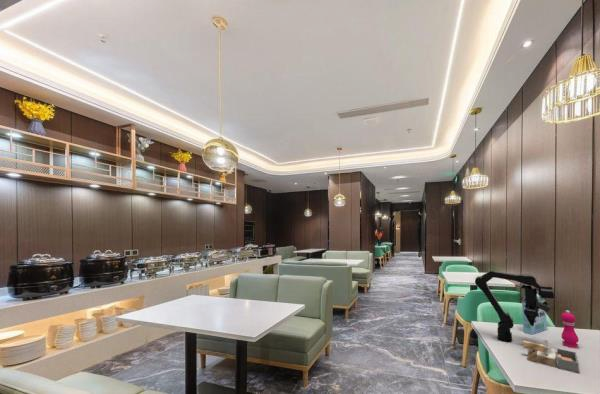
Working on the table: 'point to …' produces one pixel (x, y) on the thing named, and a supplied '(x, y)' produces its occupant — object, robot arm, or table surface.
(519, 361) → the table surface
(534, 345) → the scraper
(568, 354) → the box
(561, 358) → the tile
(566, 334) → the pepper mill
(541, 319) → the gum box
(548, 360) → the bench
